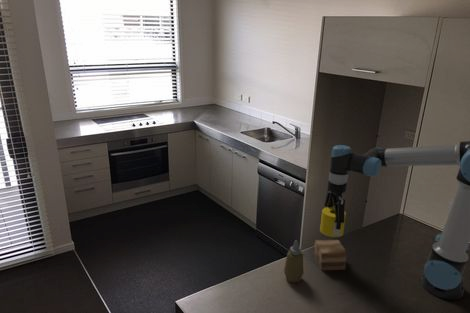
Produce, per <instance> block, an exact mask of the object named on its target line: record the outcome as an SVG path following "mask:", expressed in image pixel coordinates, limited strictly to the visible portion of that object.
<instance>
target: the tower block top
mask: <svg viewBox="0 0 470 313" xmlns="http://www.w3.org/2000/svg"><path fill="white" fill-rule="evenodd" d="M314 249H315V251H316V253H317V255H318V257H319V259H320V261H321V262H346V263H347V258H348V256H347V255H348V252H347V250H346V249H345V247H344V246H343V245H342V243H341V241H340V240H339V239H314V248H313V250H314Z"/></svg>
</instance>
